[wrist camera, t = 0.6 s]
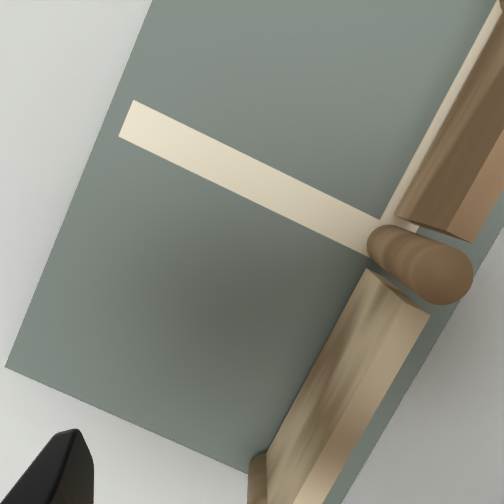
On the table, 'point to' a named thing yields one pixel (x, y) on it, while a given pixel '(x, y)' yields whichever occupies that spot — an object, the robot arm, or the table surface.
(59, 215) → the table surface
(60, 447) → the robot arm
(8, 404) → the table surface
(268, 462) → the hinged panel
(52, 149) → the table surface
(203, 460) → the table surface
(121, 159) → the board
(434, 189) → the fixed fence
